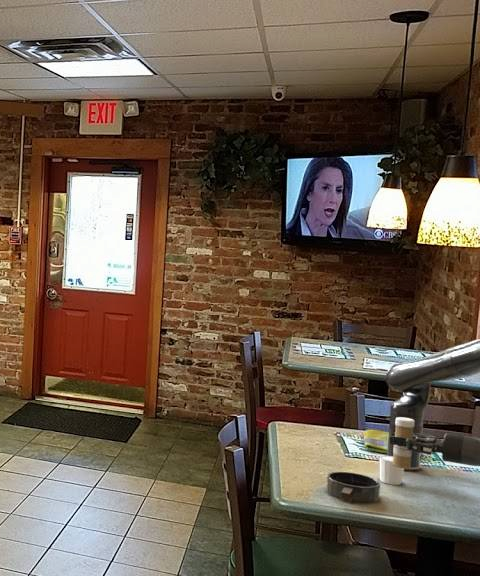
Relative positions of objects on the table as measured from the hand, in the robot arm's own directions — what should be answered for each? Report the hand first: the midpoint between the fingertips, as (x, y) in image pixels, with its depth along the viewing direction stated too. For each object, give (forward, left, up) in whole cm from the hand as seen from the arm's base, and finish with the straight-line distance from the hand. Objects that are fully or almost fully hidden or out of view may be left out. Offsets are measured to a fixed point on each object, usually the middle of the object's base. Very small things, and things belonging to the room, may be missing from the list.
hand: (391, 438), depth 213 cm
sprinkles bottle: (0, +3, -8) cm, 8 cm away
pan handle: (+13, -8, -17) cm, 23 cm away
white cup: (-17, -1, -17) cm, 25 cm away
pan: (+4, -8, -17) cm, 19 cm away
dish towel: (-61, -6, -17) cm, 64 cm away
